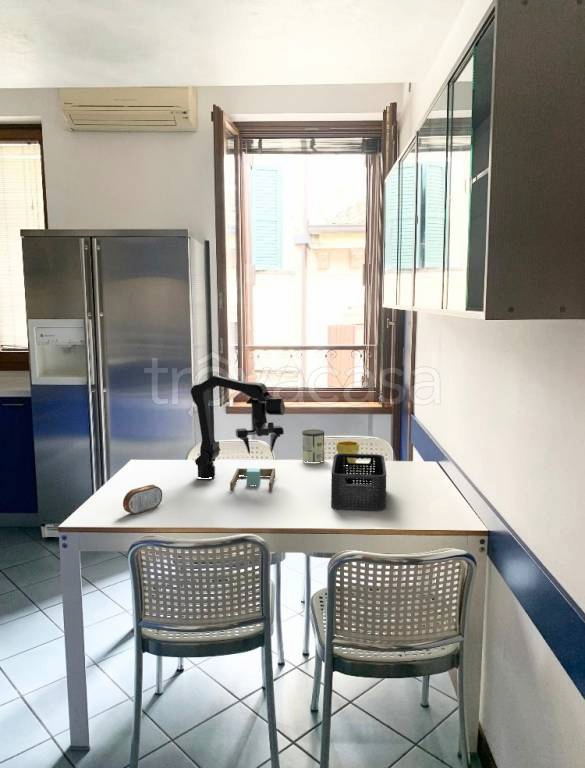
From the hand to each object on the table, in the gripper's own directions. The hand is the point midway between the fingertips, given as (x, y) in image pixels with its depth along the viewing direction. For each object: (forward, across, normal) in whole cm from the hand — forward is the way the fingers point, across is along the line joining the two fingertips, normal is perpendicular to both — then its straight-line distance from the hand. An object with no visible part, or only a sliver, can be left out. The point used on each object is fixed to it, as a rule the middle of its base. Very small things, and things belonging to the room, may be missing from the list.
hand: (260, 452), depth 230 cm
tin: (+12, -46, -22) cm, 53 cm away
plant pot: (+13, +44, +17) cm, 48 cm away
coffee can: (+13, +30, +26) cm, 42 cm away
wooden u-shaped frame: (+12, -3, -2) cm, 13 cm away
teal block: (+12, -4, -2) cm, 13 cm away
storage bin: (+14, +31, -29) cm, 45 cm away
